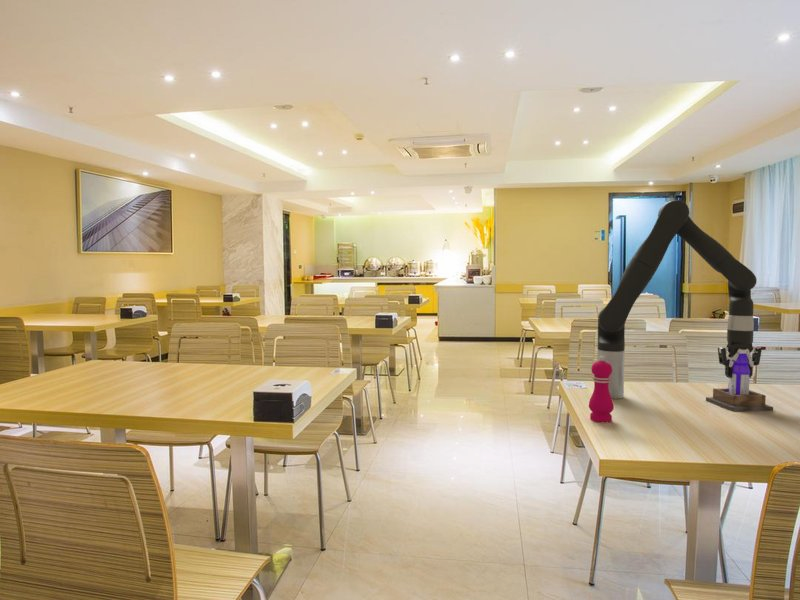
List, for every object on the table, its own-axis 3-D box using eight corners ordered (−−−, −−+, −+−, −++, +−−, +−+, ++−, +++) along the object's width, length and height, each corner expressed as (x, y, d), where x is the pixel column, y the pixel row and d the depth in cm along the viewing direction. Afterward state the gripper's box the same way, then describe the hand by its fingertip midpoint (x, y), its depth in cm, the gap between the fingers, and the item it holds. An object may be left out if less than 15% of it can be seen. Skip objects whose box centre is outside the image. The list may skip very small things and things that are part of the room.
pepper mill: (601, 415, 168) (602, 353, 167) (618, 421, 162) (619, 357, 161) (583, 418, 166) (584, 355, 165) (599, 424, 159) (601, 358, 158)
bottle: (752, 402, 177) (753, 350, 176) (733, 401, 178) (735, 350, 177) (742, 397, 184) (744, 347, 183) (724, 396, 185) (726, 347, 184)
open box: (731, 410, 174) (731, 396, 173) (705, 400, 188) (706, 387, 187) (773, 410, 174) (773, 396, 174) (744, 400, 188) (744, 387, 188)
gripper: (726, 329, 176) (724, 379, 176) (769, 329, 176) (767, 379, 177) (712, 327, 183) (711, 375, 184) (753, 327, 183) (751, 375, 184)
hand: (738, 377), depth 180 cm, fingers closed on bottle, 6 cm apart
